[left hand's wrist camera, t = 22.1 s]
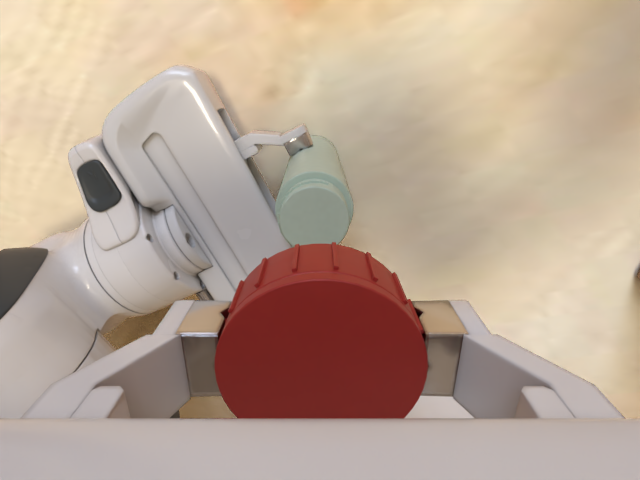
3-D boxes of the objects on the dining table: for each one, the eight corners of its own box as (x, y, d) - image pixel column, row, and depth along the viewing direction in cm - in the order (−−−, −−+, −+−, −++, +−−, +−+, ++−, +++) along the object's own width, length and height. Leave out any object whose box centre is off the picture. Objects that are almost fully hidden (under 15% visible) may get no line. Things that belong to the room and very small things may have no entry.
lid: (373, 411, 11) (382, 471, 10) (212, 371, 11) (191, 427, 9) (442, 272, 10) (469, 314, 8) (254, 216, 9) (239, 247, 7)
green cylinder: (290, 135, 32) (270, 178, 17) (338, 135, 32) (359, 179, 17) (291, 182, 33) (273, 259, 19) (337, 183, 34) (355, 260, 19)
